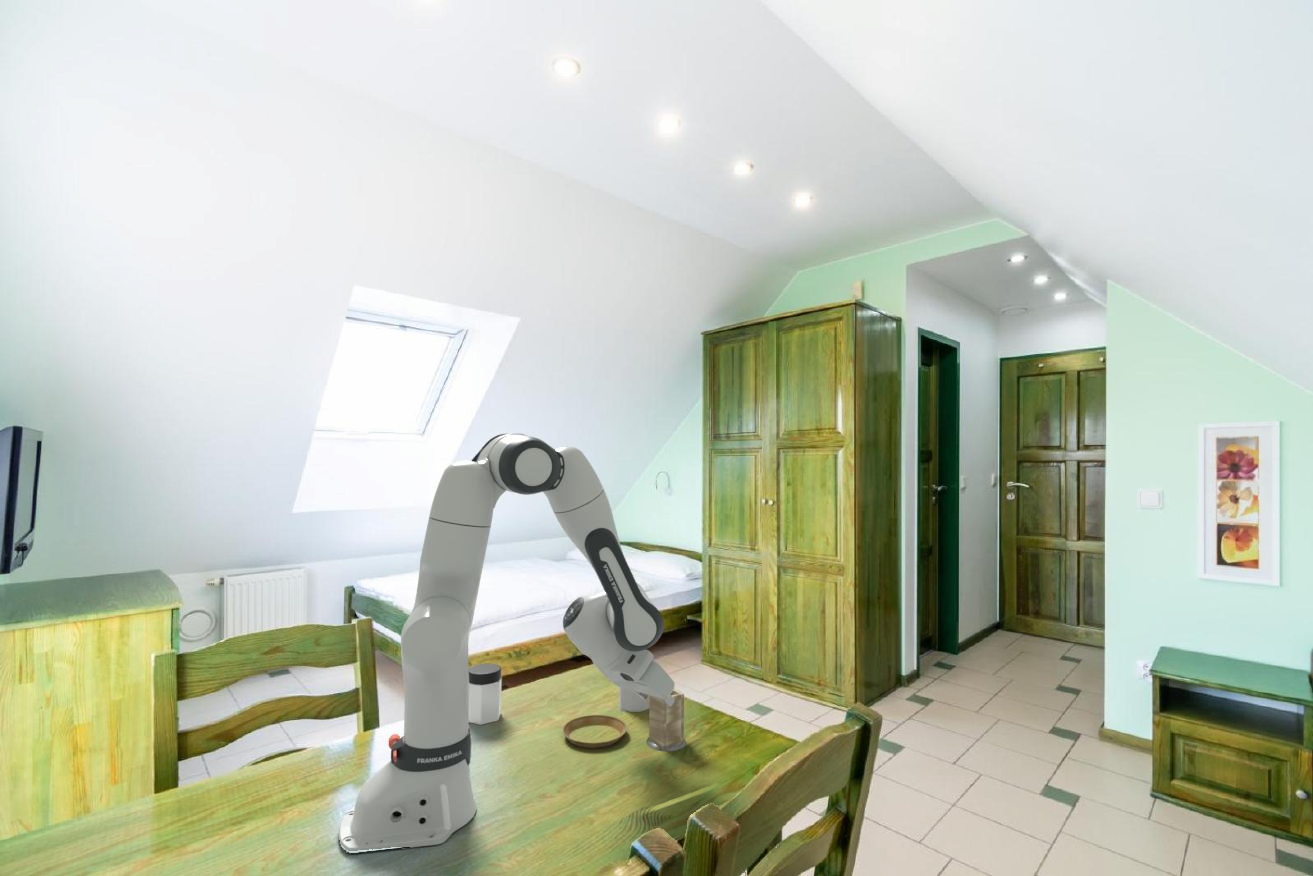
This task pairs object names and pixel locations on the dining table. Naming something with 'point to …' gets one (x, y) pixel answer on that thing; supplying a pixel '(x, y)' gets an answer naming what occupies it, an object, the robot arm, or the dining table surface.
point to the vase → (666, 721)
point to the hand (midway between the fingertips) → (658, 699)
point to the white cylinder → (632, 701)
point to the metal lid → (665, 749)
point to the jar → (484, 693)
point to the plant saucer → (594, 720)
